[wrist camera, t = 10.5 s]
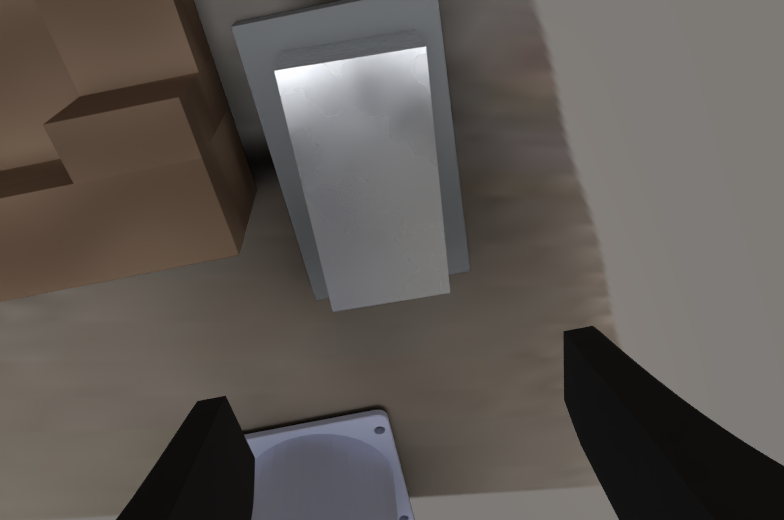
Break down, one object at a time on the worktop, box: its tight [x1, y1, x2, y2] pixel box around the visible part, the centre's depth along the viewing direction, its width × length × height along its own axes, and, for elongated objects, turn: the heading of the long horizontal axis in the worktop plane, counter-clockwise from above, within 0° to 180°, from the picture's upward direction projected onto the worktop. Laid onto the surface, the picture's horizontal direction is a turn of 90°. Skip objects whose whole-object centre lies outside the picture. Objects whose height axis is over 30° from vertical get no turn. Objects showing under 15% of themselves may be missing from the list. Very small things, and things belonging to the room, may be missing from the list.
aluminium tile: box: [274, 29, 450, 312], centre depth 18 cm, size 8×4×2 cm, turn 8°
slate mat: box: [231, 0, 470, 301], centre depth 19 cm, size 10×6×1 cm, turn 10°
